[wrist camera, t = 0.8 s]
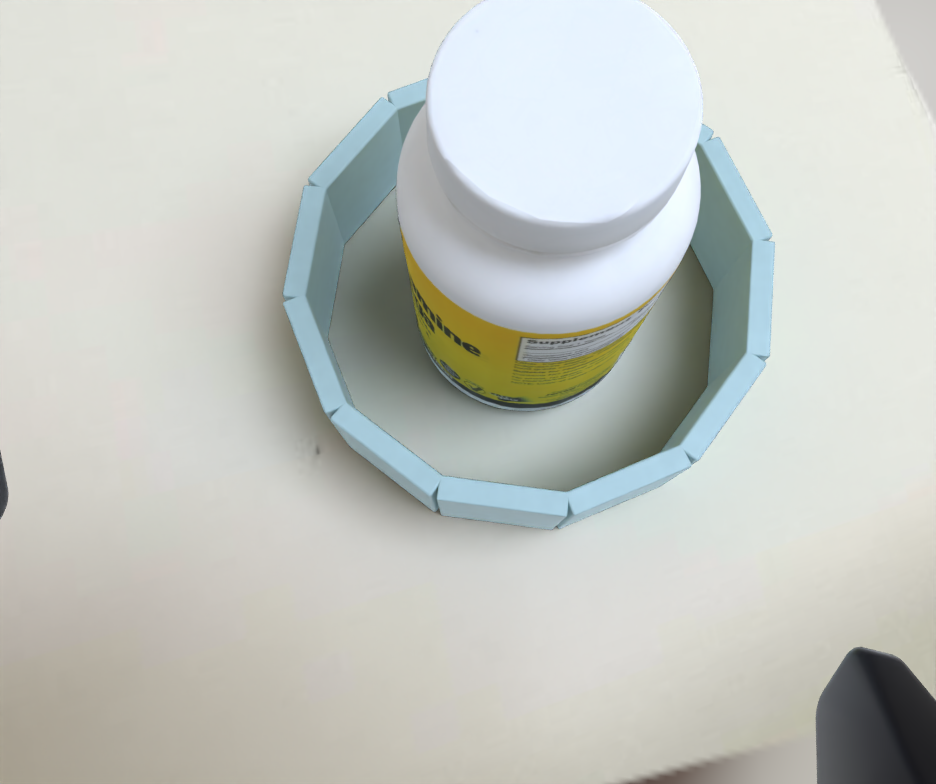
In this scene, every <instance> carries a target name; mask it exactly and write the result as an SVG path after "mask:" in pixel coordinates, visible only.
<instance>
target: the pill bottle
mask: <svg viewBox="0 0 936 784" xmlns="http://www.w3.org/2000/svg"><path fill="white" fill-rule="evenodd" d="M702 118H703V96H702V87H701V83H700V79H699V75H698V72H697V69H696V66H695V64H694V61H693V59H692V57H691V55H690V53H689V51H688V49H687V47H686V46H685V44H684V43H683V41H682V40H681V38H680V37H679V35H678V34H677V33H676V32H675V30H674V29H673V28H672V27H671V26H670V25H669V24H668V23H667V22H666V21H665V20H664V19H663V18H662V17H661V16H660V15H659V14H658V13H656V12H655V11H654V10H653V9H651V8H650V7H649V6H647V5H646V4H645V3H643V2H641V1H639V0H483V1H482V2H480V3H479V4H477V5H476V6H474V7H473V8H472V9H471V10H469V11H468V12H467V13H466V14H465V15H464V16H462V17H461V18H460V19H459V20H458V21H457V22H456V24H455V25H454V26H453V27H452V29H451V30H450V31H449V32H448V34H447V35H446V37H445V39H444V40H443V42H442V43H441V45H440V47H439V49H438V50H437V53H436V55H435V58H434V60H433V63H432V65H431V69H430V73H429V76H428V80H427V88H426V101H425V104H424V105H423V107H422V108H421V110H420V111H419V113H418V114H417V116H416V118H415V119H414V121H413V123H412V125H411V127H410V129H409V131H408V134H407V136H406V138H405V141H404V144H403V147H402V150H401V154H400V159H399V164H398V171H397V183H396V202H397V212H398V221H399V225H400V231H401V236H402V241H403V247H404V252H405V257H406V261H407V266H408V272H409V278H410V284H411V289H412V295H413V303H414V309H415V313H416V319H417V324H418V328H419V331H420V335H421V338H422V341H423V343H424V346H425V348H426V350H427V352H428V354H429V356H430V358H431V360H432V361H433V363H434V364H435V365H436V367H437V368H438V370H439V371H440V372H441V373H442V375H443V376H444V377H445V378H446V379H447V380H448V381H449V382H450V383H451V384H453V385H454V386H455V387H457V388H458V389H459V390H460V391H462V392H463V393H465V394H467V395H468V396H470V397H472V398H474V399H476V400H478V401H480V402H482V403H485V404H487V405H490V406H493V407H497V408H501V409H507V410H517V411H534V410H543V409H548V408H553V407H557V406H560V405H563V404H565V403H568V402H571V401H573V400H575V399H577V398H579V397H580V396H582V395H584V394H585V393H587V392H588V391H589V390H591V389H592V388H593V387H595V386H596V385H597V384H598V383H599V382H600V381H601V380H602V379H603V378H604V377H605V376H606V375H607V374H608V373H609V372H610V370H611V369H612V368H613V367H614V365H615V364H616V363H617V362H618V360H619V359H620V357H621V356H622V354H623V353H624V351H625V349H626V348H627V346H628V345H629V343H630V342H631V341H632V338H633V337H634V335H635V333H636V332H637V330H638V329H639V327H640V326H641V324H642V323H643V321H644V320H645V318H646V316H647V314H648V313H649V311H650V310H651V309H652V307H653V306H654V304H655V302H656V300H657V299H658V297H659V296H660V294H661V292H662V291H663V289H664V288H665V286H666V285H667V283H668V282H669V281H670V279H671V277H672V276H673V274H674V273H675V271H676V269H677V268H678V266H679V264H680V262H681V260H682V258H683V256H684V254H685V252H686V250H687V248H688V246H689V243H690V241H691V239H692V236H693V233H694V230H695V227H696V224H697V219H698V213H699V207H700V198H701V183H700V173H699V165H698V160H697V156H696V152H695V148H696V146H697V143H698V139H699V135H700V131H701V126H702Z"/></svg>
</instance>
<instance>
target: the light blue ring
mask: <svg viewBox="0 0 936 784" xmlns="http://www.w3.org/2000/svg"><path fill="white" fill-rule="evenodd" d="M427 80H428V78H427V79H424V80H421V81H419V82H416V83H413V84H410V85H407V86H405V87H402V88H399V89H396V90H394V91H391V92H389V93H388V101H387V100H386V99H384V98H383V97H381V98H380V99H379V100H378V101H377V102H376V103H375V105H374V106H373V107H372V108H371V109H370V110H369V111H368V112H367V113H366V115H365V116H364V117H363V118H362V119H361V120H360V121H359V122H358V123H357V125H356V126H355V127H354V128H353V129H352V130H351V131H350V132H349V133H348V135H347V136H346V137H345V138H344V139H343V140H342V141H341V142H340V143H339V145H338V146H337V147H336V148H335V149H334V150H333V151H332V152H331V154H330V155H329V156H328V157H327V158H326V159H325V160H324V161H323V162H322V164H321V165H320V166H319V167H318V168H317V169H316V170H315V171H314V172H313V174H312V175H311V176H310V177H309V178H308V181H309V184H310V186H308V185H305V186H304V188H303V193H302V198H301V203H300V208H299V213H298V218H297V223H296V228H295V233H294V238H293V244H292V249H291V254H290V259H289V264H288V269H287V274H286V279H285V284H284V289H283V297H284V299H285V300H286V301H285V302H283V305H284V308H285V310H286V313H287V316H288V318H289V321H290V324H291V326H292V329H293V331H294V334H295V337H296V339H297V342H298V345H299V347H300V350H301V352H302V355H303V358H304V360H305V363H306V366H307V368H308V371H309V373H310V376H311V379H312V381H313V384H314V386H315V389H316V392H317V394H318V397H319V400H320V402H321V405H322V407H323V410H324V412H325V414H326V415H327V416H328V418H329V419H330V421H331V422H332V423H333V425H334V426H335V427H336V429H337V430H338V431H339V433H340V434H341V436H342V437H343V438H344V439H345V441H346V442H347V443H348V445H349V446H350V447H351V448H352V449H354V450H355V451H356V452H357V453H359V454H360V455H361V456H363V457H364V458H365V459H366V460H368V461H369V462H370V463H372V464H373V465H374V466H375V467H377V468H378V469H379V470H381V471H382V472H383V473H384V474H386V475H387V476H388V477H390V478H391V479H392V480H393V481H395V482H396V483H397V484H399V485H400V486H401V487H402V488H404V489H405V490H406V491H408V492H409V493H410V494H411V495H413V496H414V497H415V498H417V499H418V500H419V501H420V502H422V503H423V504H424V505H426V506H427V507H428V508H429V509H431V510H432V511H434V512H435V511H437V510H438V508H439V509H440V512H441V515H442V516H450V517H457V518H465V519H473V520H480V521H488V522H495V523H503V524H510V525H518V526H525V527H533V528H540V529H548V530H552V529H553V528H554V527H556V526H557V527H558V528H559V529H561V528H563V527H565V526H568V525H570V524H573V523H575V522H577V521H580V520H582V519H584V518H587V517H589V516H591V515H594V514H596V513H599V512H601V511H603V510H606V509H608V508H610V507H613V506H615V505H618V504H620V503H622V502H625V501H627V500H629V499H632V498H634V497H636V496H639V495H641V494H644V493H646V492H648V491H651V490H653V489H655V488H658V487H660V486H661V485H663V484H665V483H666V482H668V481H669V480H671V479H673V478H674V477H676V476H677V475H679V474H681V473H682V472H684V471H685V470H687V469H689V468H690V467H691V465H692V464H694V463H695V462H697V461H699V460H700V458H701V457H702V455H703V454H704V452H705V451H706V450H707V448H708V447H709V445H710V444H711V443H712V441H713V440H714V438H715V437H716V436H717V434H718V433H719V431H720V430H721V428H722V427H723V426H724V424H725V423H726V421H727V420H728V419H729V417H730V416H731V414H732V413H733V412H734V410H735V409H736V407H737V406H738V404H739V403H740V402H741V400H742V399H743V397H744V396H745V395H746V393H747V392H748V390H749V389H750V388H751V386H752V385H753V383H754V382H755V380H756V379H757V378H758V376H759V375H760V373H761V372H762V371H763V369H764V368H765V366H766V363H765V362H764V361H765V360H766V359H767V358H768V357H769V356H770V340H771V318H772V296H773V275H774V253H775V242H771V241H769V239H770V238H771V237H772V233H771V231H770V229H769V227H768V225H767V224H766V222H765V220H764V218H763V216H762V214H761V213H760V211H759V209H758V207H757V205H756V203H755V202H754V200H753V198H752V196H751V194H750V192H749V190H748V189H747V187H746V185H745V183H744V181H743V179H742V178H741V176H740V174H739V172H738V170H737V168H736V167H735V165H734V163H733V161H732V159H731V157H730V156H729V154H728V152H727V150H726V148H725V146H724V145H723V143H722V141H721V139H720V138H719V137H716V138H713V139H711V137H712V135H713V132H714V131H713V130H712V129H710V128H709V127H707V126H706V125H704V124H702V126H701V131H700V135H699V139H698V143H697V146H696V148H695V152H696V156H697V160H698V165H699V173H700V183H701V198H700V207H699V213H698V219H697V224H696V227H695V230H694V233H693V236H692V239H691V241H690V245H691V247H692V249H693V250H694V252H695V254H696V256H697V258H698V260H699V262H700V264H701V266H702V268H703V270H704V272H705V274H706V276H707V278H708V280H709V281H710V283H711V285H712V287H713V289H714V293H713V309H712V324H711V340H710V355H709V371H708V386H707V388H706V389H705V391H704V392H703V393H702V395H701V396H700V398H699V399H698V400H697V402H696V403H695V404H694V406H693V407H692V409H691V410H690V411H689V413H688V414H687V416H686V417H685V418H684V420H683V421H682V422H681V424H680V425H679V427H678V428H677V429H676V431H675V432H674V434H673V435H672V436H671V438H670V439H669V441H668V442H667V443H666V445H665V446H664V447H663V449H662V450H661V452H660V453H658V454H656V455H653V456H651V457H648V458H646V459H644V460H641V461H639V462H636V463H634V464H632V465H629V466H627V467H624V468H622V469H620V470H617V471H615V472H612V473H610V474H608V475H605V476H603V477H600V478H598V479H596V480H593V481H591V482H589V483H586V484H584V485H581V486H579V487H577V488H574V489H572V490H569V491H567V492H564V491H557V490H549V489H542V488H534V487H526V486H519V485H511V484H504V483H496V482H488V481H481V480H473V479H466V478H458V477H450V476H443V475H441V474H440V473H439V472H437V471H436V470H435V469H434V468H432V467H431V466H430V465H428V464H427V463H426V462H424V461H423V460H422V459H421V458H419V457H418V456H417V455H415V454H414V453H413V452H411V451H410V450H409V449H408V448H406V447H405V446H404V445H402V444H401V443H400V442H398V441H397V440H396V439H394V438H393V437H392V436H391V435H389V434H388V433H387V432H385V431H384V430H383V429H381V428H380V427H379V426H378V425H376V424H375V423H374V422H372V421H371V420H370V419H368V418H367V417H366V416H365V415H363V414H362V413H361V412H359V411H358V410H357V409H355V407H354V404H353V402H352V399H351V397H350V394H349V391H348V389H347V386H346V384H345V381H344V379H343V376H342V374H341V371H340V368H339V366H338V363H337V361H336V358H335V356H334V353H333V351H332V348H331V345H330V343H329V340H328V333H329V328H330V322H331V317H332V311H333V306H334V300H335V295H336V289H337V283H338V278H339V272H340V267H341V261H342V256H343V250H344V245H345V243H346V242H347V241H348V240H349V239H350V237H351V236H352V235H353V234H354V233H355V232H356V231H357V229H358V228H359V227H360V226H361V225H362V224H363V223H364V221H365V220H366V219H367V218H368V217H369V216H370V214H371V213H372V212H373V211H374V210H375V209H376V208H377V206H378V205H379V204H380V203H381V202H382V201H383V199H384V198H385V197H386V196H387V195H388V194H389V193H390V191H391V190H392V189H393V188H394V187H395V186H396V183H397V171H398V164H399V159H400V154H401V150H402V147H403V144H404V141H405V138H406V136H407V134H408V131H409V129H410V127H411V125H412V123H413V121H414V119H415V118H416V116H417V114H418V113H419V111H420V110H421V108H422V107H423V105H424V104H425V101H426V88H427ZM710 139H711V140H710Z"/></svg>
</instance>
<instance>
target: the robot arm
mask: <svg viewBox="0 0 936 784" xmlns="http://www.w3.org/2000/svg"><path fill="white" fill-rule="evenodd" d="M7 502H8V487H7V482H6V477H5V472H4V467H3V462H2V457H1V452H0V519H1V517H2V515H3V513H4V511H5V509H6V506H7ZM816 745H817V746H816V747H817V748H816V749H817V784H936V700H935V699H934V698H933V697H932V695H931V694H930V693H929V692H928V691H927V689H926V688H925V687H924V686H923V685H922V683H921V682H920V681H919V680H918V679H917V677H916V676H915V675H914V674H913V673H912V671H911V670H910V669H909V668H908V667H907V665H906V664H905V663H904V662H903V661H902V660H901V659H899V658H898V657H896V656H894V655H892V654H888V653H884V652H880V651H876V650H872V649H868V648H864V647H856V648H854V649H852V650H851V651H849V653H848V654H847V655H846V656H845V658H844V660H843V661H842V663H841V664H840V666H839V667H838V669H837V670H836V672H835V674H834V675H833V677H832V678H831V680H830V681H829V683H828V684H827V686H826V688H825V689H824V691H823V692H822V694H821V696H820V699H819V701H818V705H817V711H816Z"/></svg>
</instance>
